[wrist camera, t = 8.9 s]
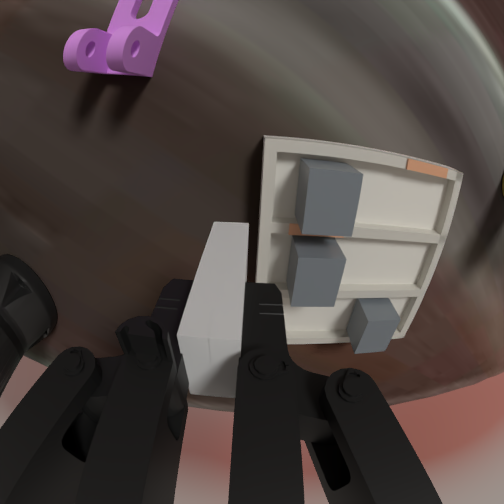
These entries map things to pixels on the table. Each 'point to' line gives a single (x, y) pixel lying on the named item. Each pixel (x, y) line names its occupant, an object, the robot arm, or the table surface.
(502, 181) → the vase
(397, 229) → the switch board
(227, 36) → the table surface
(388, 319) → the slider
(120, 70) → the bracket
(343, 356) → the table surface
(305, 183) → the slider
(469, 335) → the table surface
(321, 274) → the slider
